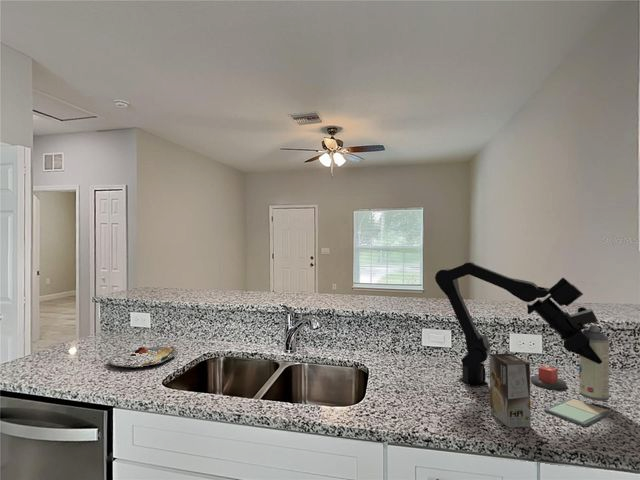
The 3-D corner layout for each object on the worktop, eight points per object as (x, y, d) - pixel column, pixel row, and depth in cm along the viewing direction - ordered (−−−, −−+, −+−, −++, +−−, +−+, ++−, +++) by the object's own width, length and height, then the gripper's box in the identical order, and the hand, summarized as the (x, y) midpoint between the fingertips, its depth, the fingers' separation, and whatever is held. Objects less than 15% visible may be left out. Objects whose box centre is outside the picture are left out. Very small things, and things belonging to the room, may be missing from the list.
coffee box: (532, 427, 94) (531, 363, 94) (508, 428, 94) (507, 364, 94) (510, 411, 103) (510, 352, 103) (488, 412, 103) (488, 353, 103)
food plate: (140, 349, 166) (140, 342, 166) (187, 353, 161) (187, 345, 161) (96, 370, 141) (96, 361, 141) (150, 374, 137) (150, 365, 137)
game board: (570, 400, 110) (570, 397, 110) (610, 413, 101) (610, 410, 101) (544, 411, 103) (544, 408, 103) (584, 426, 94) (584, 423, 94)
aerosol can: (583, 389, 111) (583, 322, 111) (611, 396, 106) (611, 326, 106) (576, 395, 107) (576, 325, 107) (605, 403, 102) (605, 329, 102)
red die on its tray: (557, 392, 116) (556, 375, 116) (524, 382, 124) (524, 366, 124) (572, 385, 121) (571, 369, 121) (540, 376, 130) (540, 361, 130)
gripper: (578, 303, 101) (630, 350, 95) (576, 295, 117) (621, 335, 111) (544, 328, 105) (592, 375, 99) (546, 317, 121) (588, 357, 115)
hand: (599, 359), depth 106 cm, fingers closed on aerosol can, 7 cm apart
